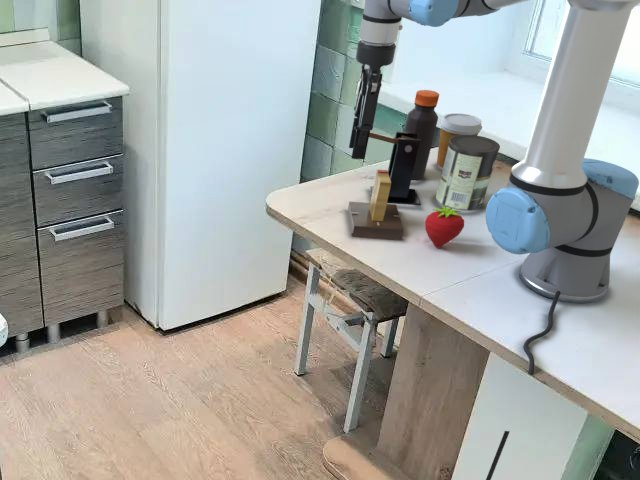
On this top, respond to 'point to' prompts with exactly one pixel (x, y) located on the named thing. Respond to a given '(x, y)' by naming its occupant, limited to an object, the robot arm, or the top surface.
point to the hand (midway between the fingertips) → (356, 152)
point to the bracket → (403, 169)
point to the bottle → (423, 127)
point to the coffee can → (467, 171)
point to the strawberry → (443, 226)
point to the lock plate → (375, 222)
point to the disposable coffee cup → (455, 131)
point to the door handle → (384, 137)
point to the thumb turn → (380, 195)
